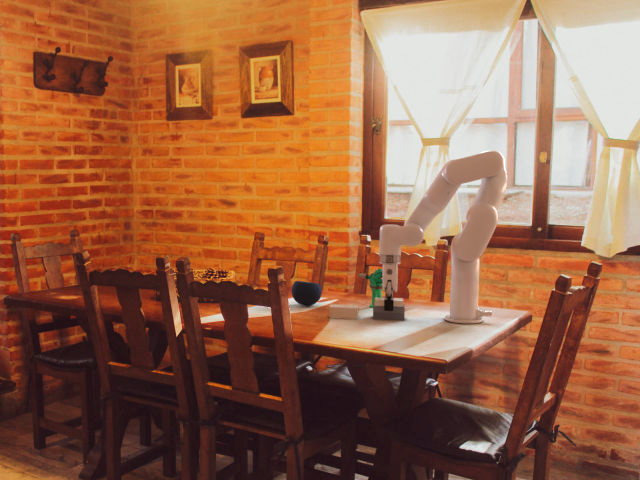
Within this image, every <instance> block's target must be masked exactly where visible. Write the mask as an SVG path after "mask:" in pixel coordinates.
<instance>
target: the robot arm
mask: <svg viewBox="0 0 640 480" xmlns="http://www.w3.org/2000/svg"><path fill="white" fill-rule="evenodd" d="M505 164H506V160H505V157H504V155H503V154H502V153H501V152H500V151H498V150H493V149H491V150H484V151H482V152H480V153H477V154H473V155H470V156H465V157H461V158H457V159H456V158H455V159H450V160H449V161H446V162H445V164H444V165H443V166H442V167H441V169H440V171H439V172H438V174H437V175H436V177H435V178H434V180H433V181H432V183H431V184H430V186H429V187H428V189H427V190H426V192H425V193H424V195H423V196H422V197H421V199H420V201H419V202H418V204H417V206H416V207H415V209H414V210H413V211H412V213H411V214H410V215H409V217H408V218H407V220H406V221H405V223H404V225H398V224H393V223H392V224H382V225H381V226H380V228H379V245H378V246H379V248H378V252H379V254H378V263H379V264H380V265H382V268H381V269H382V278H381V279H383V284H382V285H383V288H382V290H383V291H382V292H384V298H385V299H384V311H393V303H394V300H393V298H395V296H394V293H398V280H399V279H398V278H399V277H398V275H399V267H398V265H400V264H401V261H402V258H401V257H402V246H406V247H407V246H408V247H416V246H419V245H420V244H422V242H423V241H424V239H425V232H426V231H427V229H428V227H429V226H430V225H431V223H432V222H433V221H434V219H435V218H436V217H437V216H438V215H439V214H441V213H442V212H443V211H444V210H445V209H446V207H447V206H448V205H449V203H450V202H451V200H452V198H454V196H455V194H456V193H457V192H458V190H459V188H460V187H461V185H462V184H467V183H472V182H475V181H480V185H479V188H478V190H477V192H476V195H475V197H474V198H473V201H472V203H471V204H470V207H469V208H468V210H467V212H466V216H465V219H466V220H465V221H466V222H465V224H464V226H463V228H462V230H461V231H459V232H458V233H456V234H455V235H454V237H453V238H452V240H451V244H450V260H451V261H450V262H451V263H450V264H451V266H450V267H451V268H450V291H449V293H450V294H449V295H450V297H449V298H450V299H449V314H446V315H445V316H444V320H445V321H447V322H450V323H454V324H464V325H465V324H466V325H467V324H479V323H480V324H481V323H482V322H483V317H485V318H486V317H489V318H492V316H493V311H492V310H482V309H480V308H479V295H480V294H479V293H480V292H479V290H480V289H479V287H480V271H481V269H480V268H481V265H480V264H481V263H480V257H482V255H483V254H484V252H485V250H486V249H487V247H488V245H489V243H490V241H491V239H492V237H493V234H494V233H495V230H496V228H497V226H498V223H499V213H498V209H499V207H500V205H501V203H502V201H503V198H504V196H505V194H506V190H507V188H508V187H507V186H508V174H507V170H506V168H505Z"/></svg>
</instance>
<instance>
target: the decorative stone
mask: <svg viewBox="0 0 640 480" xmlns="http://www.w3.org/2000/svg"><path fill="white" fill-rule="evenodd" d="M322 294H323V288H322V286H321V284H320V283H317V282H310V281H302V280H295V281H294V282H293V284H292V286H291V296H292V298H293V300H294V301H295V302H296V303H297V304H299V305H300V306H305V307H309V306H313V305H315V304H317V303H318V302H319V300H321V298H322Z"/></svg>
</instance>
